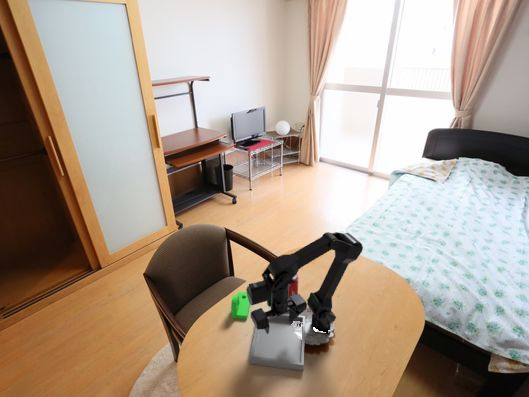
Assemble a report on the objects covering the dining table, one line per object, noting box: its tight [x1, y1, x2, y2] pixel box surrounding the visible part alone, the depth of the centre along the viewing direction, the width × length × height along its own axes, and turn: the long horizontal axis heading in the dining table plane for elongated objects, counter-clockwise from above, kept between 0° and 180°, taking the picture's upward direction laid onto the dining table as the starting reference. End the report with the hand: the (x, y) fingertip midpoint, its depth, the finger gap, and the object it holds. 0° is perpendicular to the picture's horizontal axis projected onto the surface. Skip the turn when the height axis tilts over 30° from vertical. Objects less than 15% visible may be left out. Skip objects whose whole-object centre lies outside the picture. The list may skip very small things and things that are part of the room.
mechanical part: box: [230, 291, 251, 320], centre depth 117 cm, size 12×6×8 cm, turn 173°
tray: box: [248, 311, 306, 372], centre depth 103 cm, size 18×20×3 cm
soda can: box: [288, 273, 299, 297], centre depth 119 cm, size 7×7×13 cm
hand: (278, 327), depth 101 cm, fingers open, 9 cm apart
